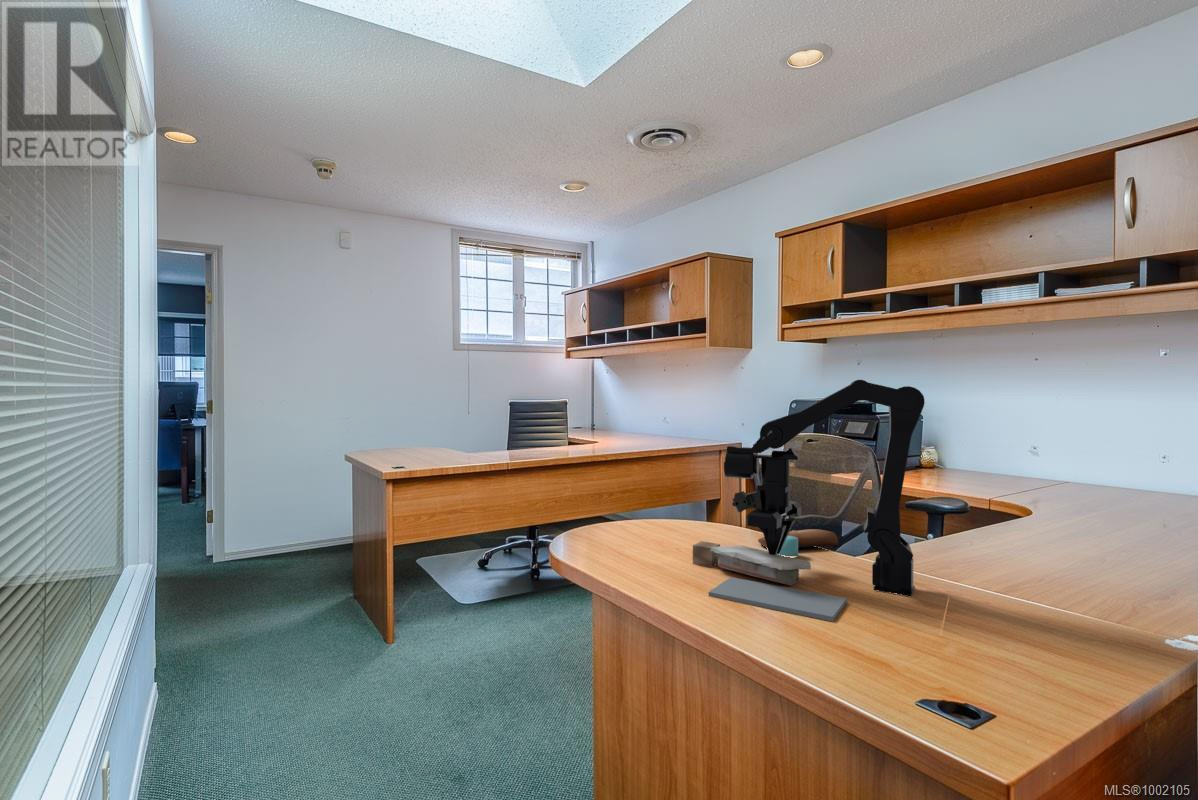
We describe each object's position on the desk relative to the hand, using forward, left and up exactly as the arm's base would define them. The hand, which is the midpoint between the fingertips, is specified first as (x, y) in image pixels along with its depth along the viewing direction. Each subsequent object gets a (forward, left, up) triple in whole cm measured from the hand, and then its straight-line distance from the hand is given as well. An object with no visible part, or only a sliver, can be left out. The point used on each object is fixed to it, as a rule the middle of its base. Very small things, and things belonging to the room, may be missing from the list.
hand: (774, 554), depth 123 cm
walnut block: (+15, +1, -4) cm, 16 cm away
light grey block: (0, -1, -2) cm, 2 cm away
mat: (-5, +15, -4) cm, 16 cm away
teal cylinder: (+2, -16, -4) cm, 17 cm away
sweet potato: (+4, -27, -5) cm, 27 cm away
